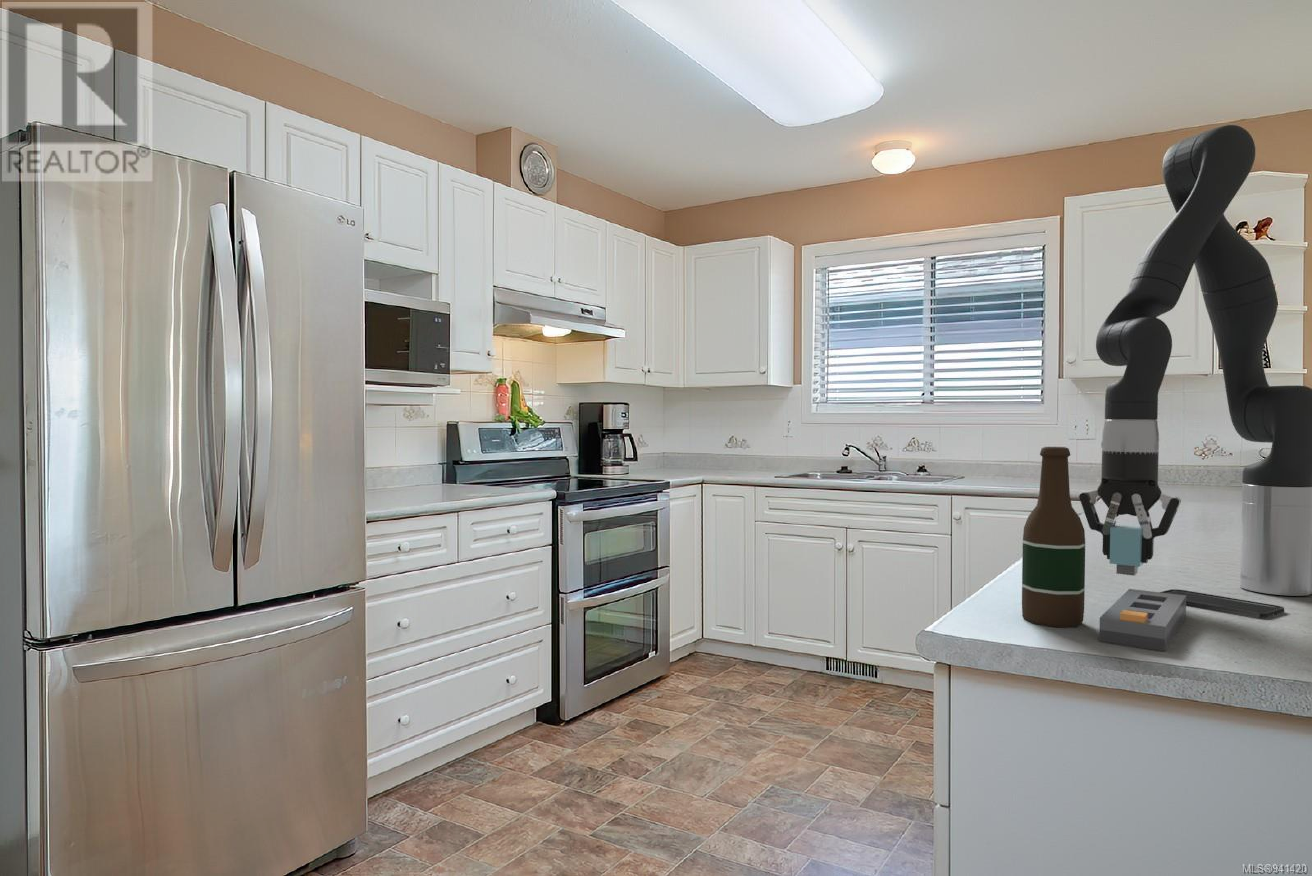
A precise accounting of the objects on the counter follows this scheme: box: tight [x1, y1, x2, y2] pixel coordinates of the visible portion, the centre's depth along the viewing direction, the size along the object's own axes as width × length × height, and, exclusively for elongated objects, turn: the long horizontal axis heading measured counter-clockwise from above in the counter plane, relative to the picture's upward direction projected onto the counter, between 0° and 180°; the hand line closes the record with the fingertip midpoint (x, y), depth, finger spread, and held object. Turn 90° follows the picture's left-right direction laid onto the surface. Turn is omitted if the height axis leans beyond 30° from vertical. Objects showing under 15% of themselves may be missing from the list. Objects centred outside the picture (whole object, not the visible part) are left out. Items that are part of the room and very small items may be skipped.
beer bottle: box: [1021, 446, 1086, 628], centre depth 111 cm, size 8×8×24 cm
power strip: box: [1098, 588, 1187, 652], centre depth 107 cm, size 22×7×4 cm, turn 141°
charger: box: [1109, 524, 1144, 577], centre depth 124 cm, size 5×4×7 cm
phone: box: [1160, 588, 1285, 620], centre depth 121 cm, size 8×1×15 cm
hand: (1127, 560), depth 124 cm, fingers closed on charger, 4 cm apart
